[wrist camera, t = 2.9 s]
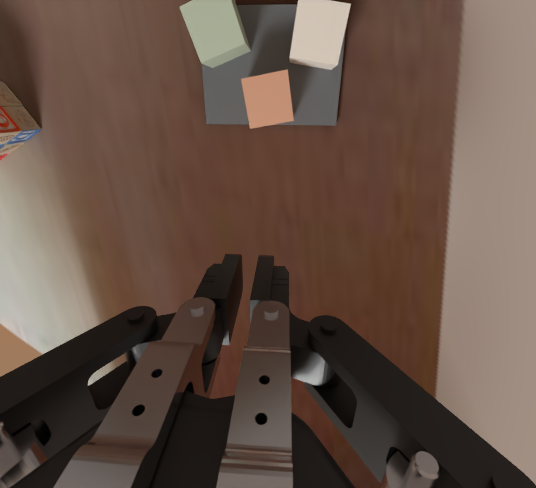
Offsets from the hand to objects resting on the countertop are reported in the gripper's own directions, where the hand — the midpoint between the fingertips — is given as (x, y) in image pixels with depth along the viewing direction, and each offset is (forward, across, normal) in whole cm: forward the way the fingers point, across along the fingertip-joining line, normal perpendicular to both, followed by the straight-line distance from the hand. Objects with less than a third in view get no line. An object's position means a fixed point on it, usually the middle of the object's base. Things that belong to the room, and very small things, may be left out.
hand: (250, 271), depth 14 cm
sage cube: (+24, +6, -14) cm, 28 cm away
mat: (+25, +1, -10) cm, 27 cm away
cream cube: (+24, -4, -13) cm, 28 cm away
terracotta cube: (+24, 0, -8) cm, 25 cm away
